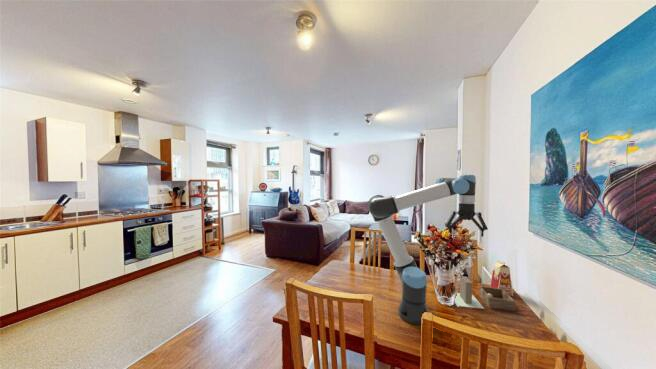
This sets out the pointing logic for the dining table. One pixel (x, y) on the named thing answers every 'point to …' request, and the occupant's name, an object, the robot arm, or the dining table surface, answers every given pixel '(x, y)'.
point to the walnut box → (497, 298)
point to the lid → (466, 295)
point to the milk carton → (502, 278)
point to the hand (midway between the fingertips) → (465, 241)
